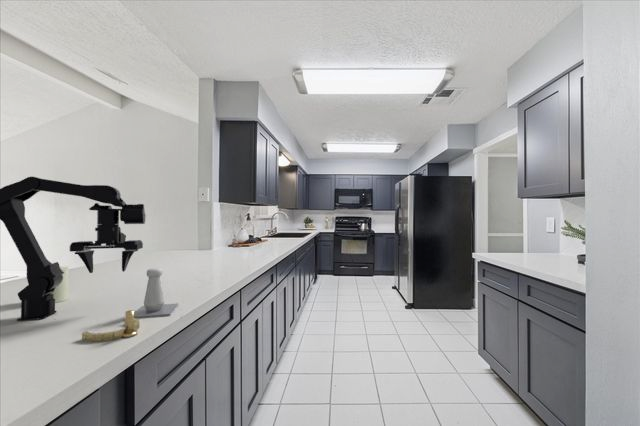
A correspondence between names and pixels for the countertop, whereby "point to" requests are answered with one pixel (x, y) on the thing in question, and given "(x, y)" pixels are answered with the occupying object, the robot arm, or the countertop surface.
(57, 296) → the can
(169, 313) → the coaster
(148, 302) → the salt shaker
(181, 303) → the countertop surface
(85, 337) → the gold curved piece
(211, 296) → the countertop surface
